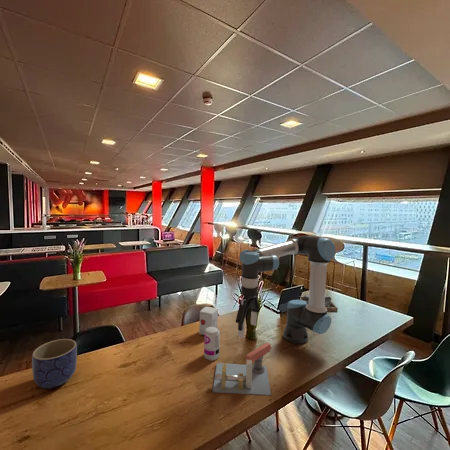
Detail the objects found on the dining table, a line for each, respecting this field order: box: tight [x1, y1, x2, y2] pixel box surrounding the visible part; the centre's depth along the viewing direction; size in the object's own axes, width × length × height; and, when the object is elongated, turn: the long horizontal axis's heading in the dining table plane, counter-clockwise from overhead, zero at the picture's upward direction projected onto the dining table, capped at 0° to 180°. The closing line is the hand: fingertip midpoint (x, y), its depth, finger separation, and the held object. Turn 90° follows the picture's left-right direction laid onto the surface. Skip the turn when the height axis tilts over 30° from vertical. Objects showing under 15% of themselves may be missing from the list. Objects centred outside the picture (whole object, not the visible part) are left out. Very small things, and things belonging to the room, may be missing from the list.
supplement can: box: [203, 326, 221, 361], centre depth 132 cm, size 8×8×15 cm
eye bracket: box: [222, 363, 243, 390], centre depth 110 cm, size 9×6×8 cm, turn 86°
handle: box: [245, 342, 272, 364], centre depth 121 cm, size 18×5×4 cm, turn 134°
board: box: [212, 359, 272, 396], centre depth 115 cm, size 25×19×7 cm
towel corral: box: [300, 296, 338, 313], centre depth 207 cm, size 25×22×3 cm
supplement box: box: [198, 306, 219, 336], centre depth 157 cm, size 9×9×15 cm
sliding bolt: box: [213, 360, 253, 389], centre depth 109 cm, size 16×3×11 cm, turn 87°
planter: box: [31, 338, 78, 389], centre depth 111 cm, size 17×17×15 cm
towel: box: [303, 294, 332, 307], centre depth 207 cm, size 15×18×8 cm
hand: (247, 330), depth 115 cm, fingers open, 13 cm apart
